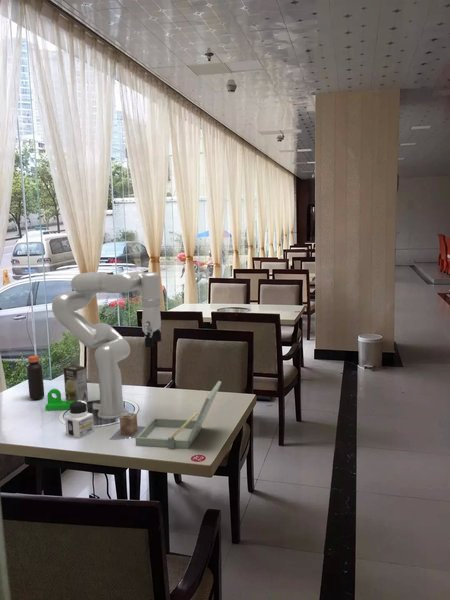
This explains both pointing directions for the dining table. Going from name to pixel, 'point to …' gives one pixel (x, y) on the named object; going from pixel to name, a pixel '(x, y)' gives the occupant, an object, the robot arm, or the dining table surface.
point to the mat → (118, 435)
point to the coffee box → (75, 383)
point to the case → (177, 423)
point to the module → (128, 424)
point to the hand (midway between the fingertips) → (153, 344)
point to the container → (79, 420)
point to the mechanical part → (56, 401)
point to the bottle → (35, 378)
